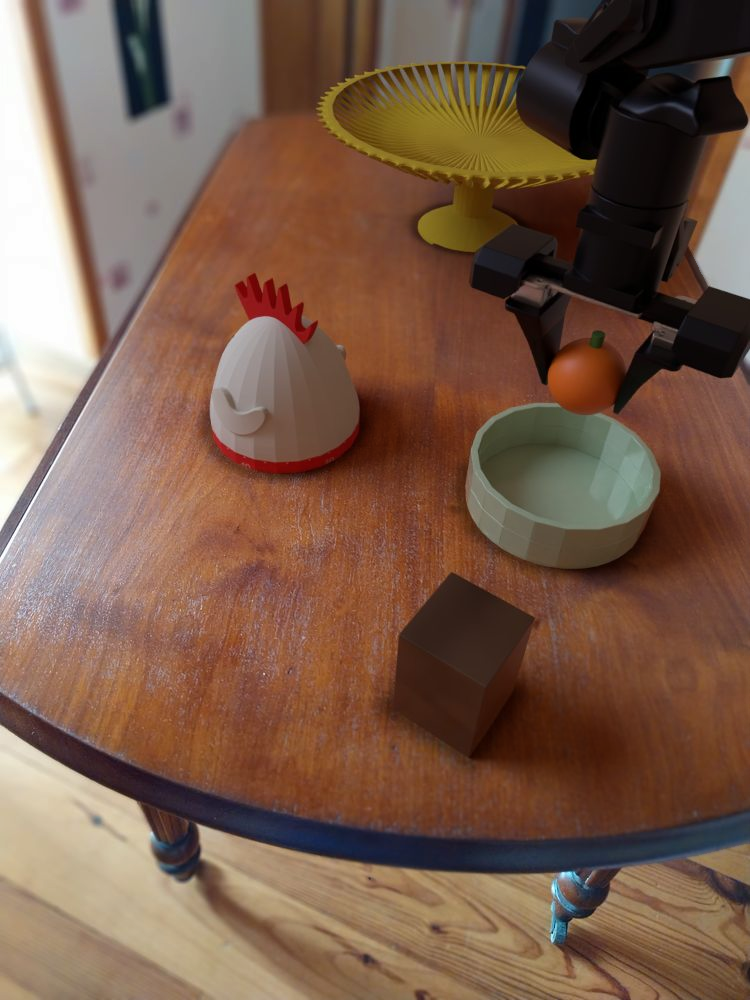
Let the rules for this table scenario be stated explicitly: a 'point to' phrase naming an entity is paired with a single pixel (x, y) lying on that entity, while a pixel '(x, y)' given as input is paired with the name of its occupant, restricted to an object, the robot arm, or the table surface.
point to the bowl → (560, 485)
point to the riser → (459, 662)
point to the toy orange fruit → (587, 375)
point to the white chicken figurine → (282, 388)
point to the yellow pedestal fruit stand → (452, 145)
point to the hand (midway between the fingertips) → (581, 396)
